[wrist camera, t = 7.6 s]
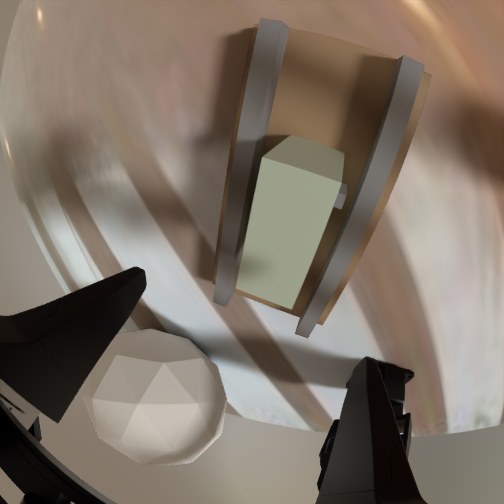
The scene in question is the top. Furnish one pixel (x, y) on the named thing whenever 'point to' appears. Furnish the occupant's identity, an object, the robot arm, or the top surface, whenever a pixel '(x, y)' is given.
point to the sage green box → (289, 217)
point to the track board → (323, 132)
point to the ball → (155, 398)
